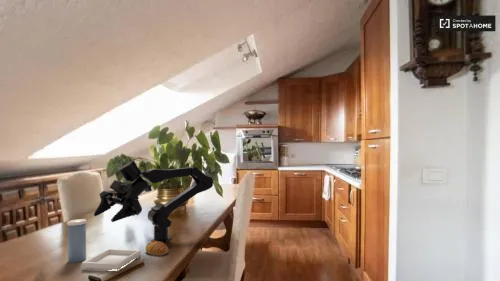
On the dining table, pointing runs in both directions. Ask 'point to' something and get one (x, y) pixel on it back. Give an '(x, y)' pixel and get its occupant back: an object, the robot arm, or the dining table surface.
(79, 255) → the blue cylindrical canister
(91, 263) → the tray
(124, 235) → the dining table surface
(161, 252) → the pastry
